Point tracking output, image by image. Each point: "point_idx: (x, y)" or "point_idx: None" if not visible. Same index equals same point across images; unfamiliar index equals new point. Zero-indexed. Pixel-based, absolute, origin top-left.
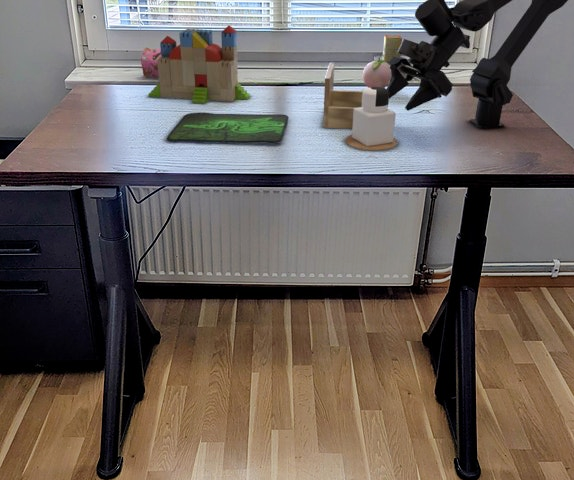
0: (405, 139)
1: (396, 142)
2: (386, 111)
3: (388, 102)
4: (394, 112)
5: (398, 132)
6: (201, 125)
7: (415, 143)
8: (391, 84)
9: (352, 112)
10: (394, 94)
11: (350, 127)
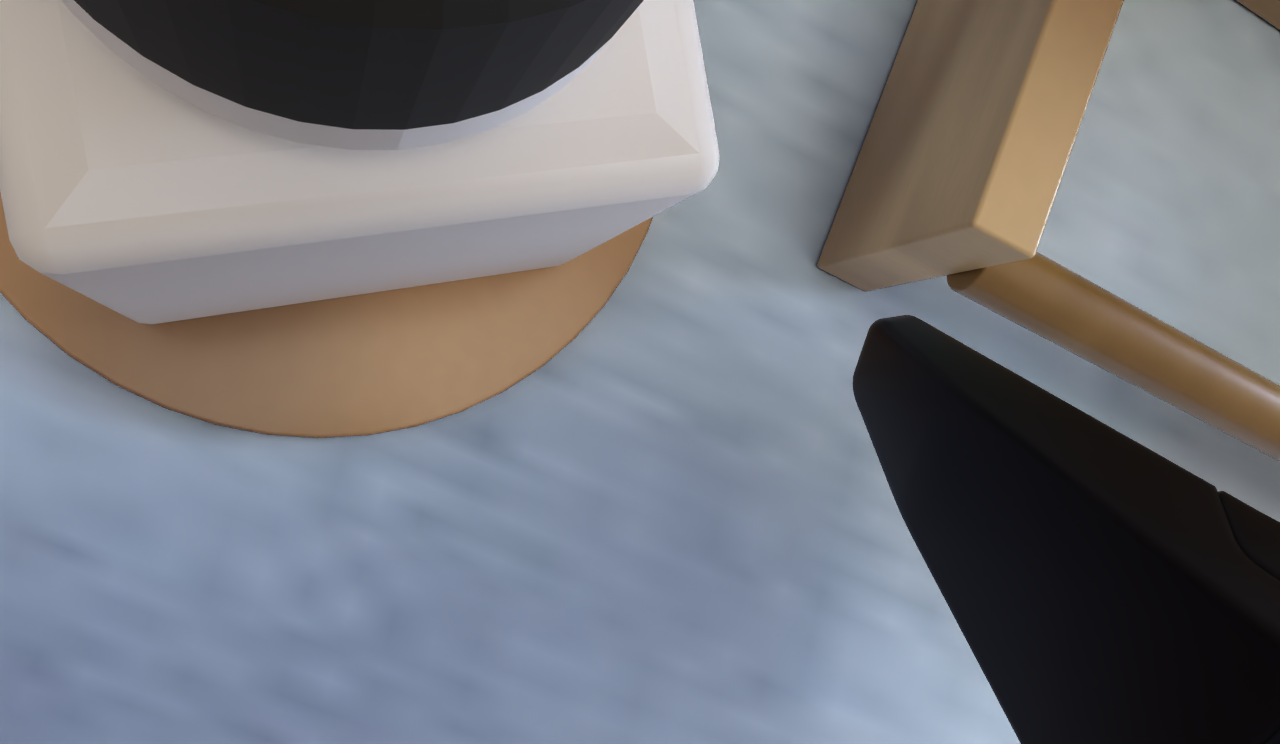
0: (316, 599)
1: (135, 381)
2: (99, 42)
3: (145, 47)
4: (26, 230)
5: (626, 614)
6: None
7: (95, 680)
8: (1133, 533)
9: (1020, 2)
10: (954, 608)
11: (901, 61)
